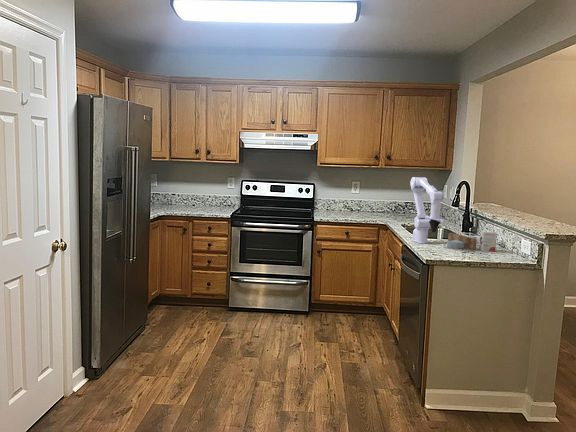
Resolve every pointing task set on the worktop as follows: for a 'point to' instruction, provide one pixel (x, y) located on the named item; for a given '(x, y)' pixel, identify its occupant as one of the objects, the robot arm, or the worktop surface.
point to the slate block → (455, 244)
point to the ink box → (487, 241)
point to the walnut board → (464, 240)
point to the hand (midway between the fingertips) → (433, 232)
